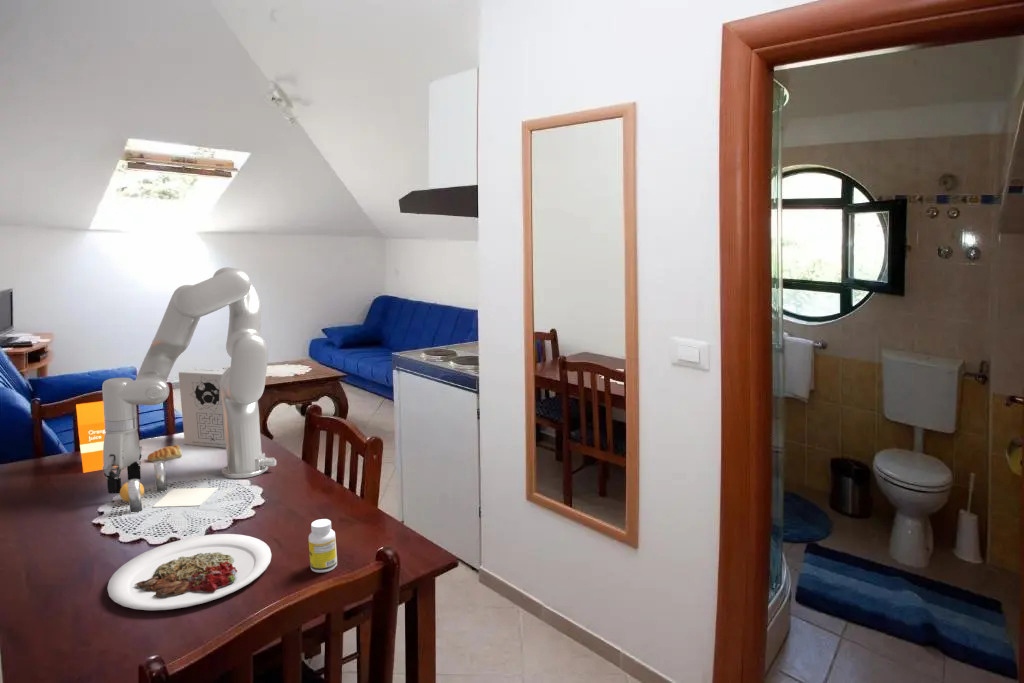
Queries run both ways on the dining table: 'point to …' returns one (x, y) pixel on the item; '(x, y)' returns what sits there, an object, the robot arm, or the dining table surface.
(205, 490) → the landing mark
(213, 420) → the cereal box
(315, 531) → the supplement bottle
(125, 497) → the ball
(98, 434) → the orange juice
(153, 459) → the pastry
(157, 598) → the plated food
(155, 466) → the post right
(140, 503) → the post left
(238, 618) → the dining table surface
